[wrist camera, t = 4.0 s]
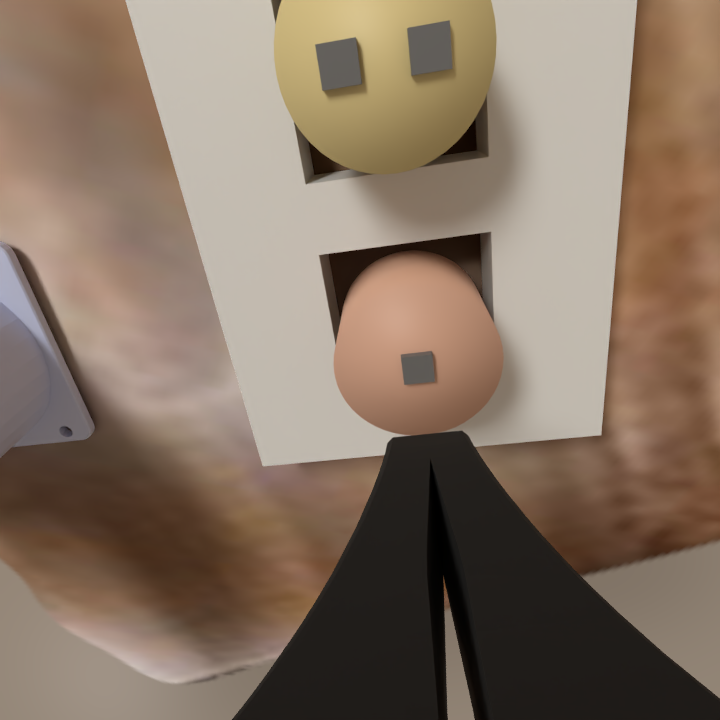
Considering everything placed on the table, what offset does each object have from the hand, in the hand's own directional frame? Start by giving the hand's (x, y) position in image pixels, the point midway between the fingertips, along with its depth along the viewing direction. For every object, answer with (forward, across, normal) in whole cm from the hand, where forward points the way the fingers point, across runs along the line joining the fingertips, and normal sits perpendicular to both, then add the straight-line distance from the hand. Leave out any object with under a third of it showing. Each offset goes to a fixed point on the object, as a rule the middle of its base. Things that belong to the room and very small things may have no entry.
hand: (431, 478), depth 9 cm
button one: (+8, 0, 0) cm, 8 cm away
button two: (+8, 0, -7) cm, 10 cm away
